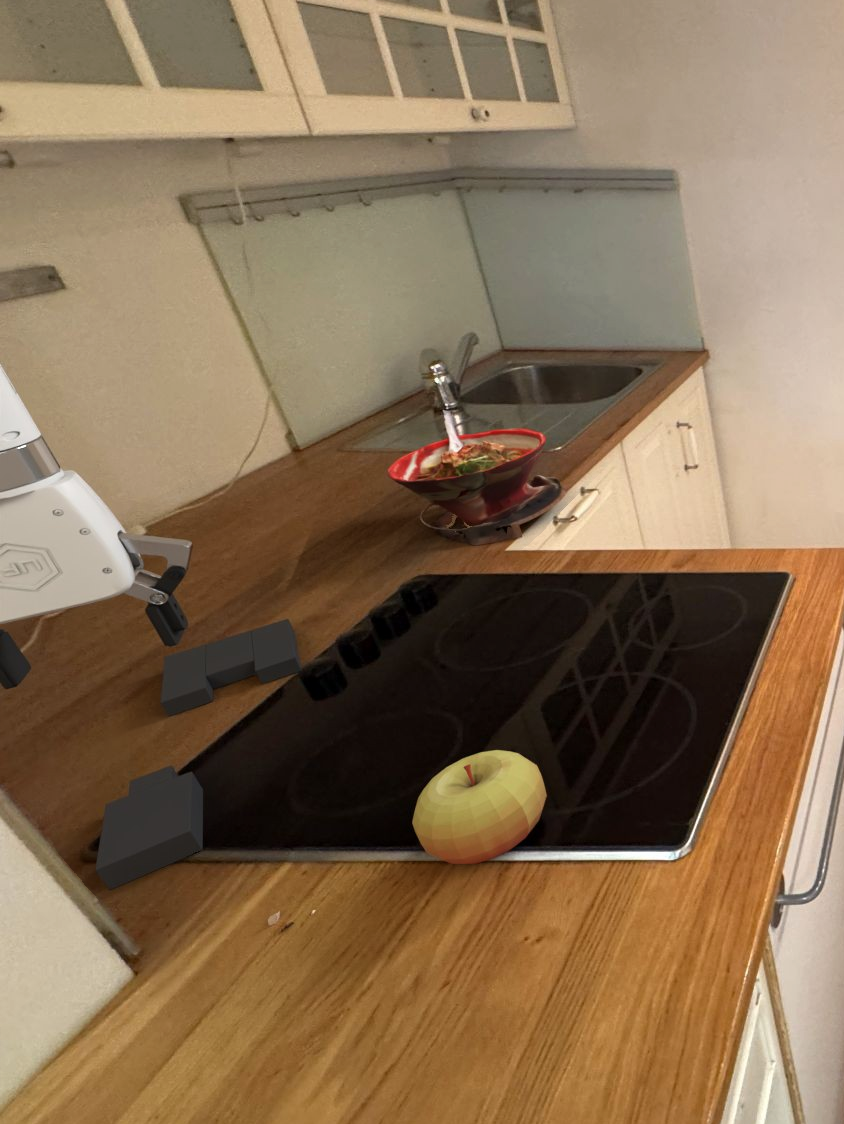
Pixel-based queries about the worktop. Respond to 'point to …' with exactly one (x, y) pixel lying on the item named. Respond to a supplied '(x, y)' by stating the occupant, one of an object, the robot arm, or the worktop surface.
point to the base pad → (228, 665)
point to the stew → (480, 481)
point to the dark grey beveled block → (150, 826)
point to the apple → (479, 807)
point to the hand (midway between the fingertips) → (100, 658)
